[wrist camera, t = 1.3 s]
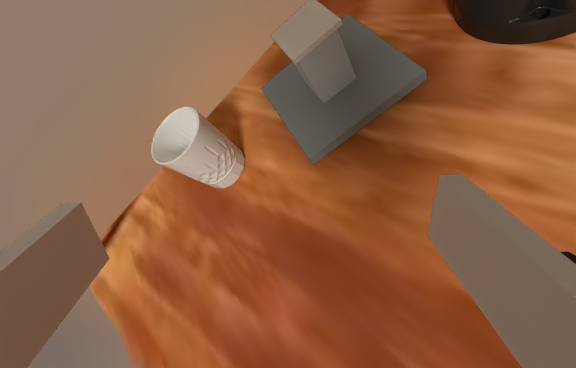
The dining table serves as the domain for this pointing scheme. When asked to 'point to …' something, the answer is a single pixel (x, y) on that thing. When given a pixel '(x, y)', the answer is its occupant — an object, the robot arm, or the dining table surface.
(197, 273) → the dining table surface
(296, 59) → the narrow pillar
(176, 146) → the white cup
